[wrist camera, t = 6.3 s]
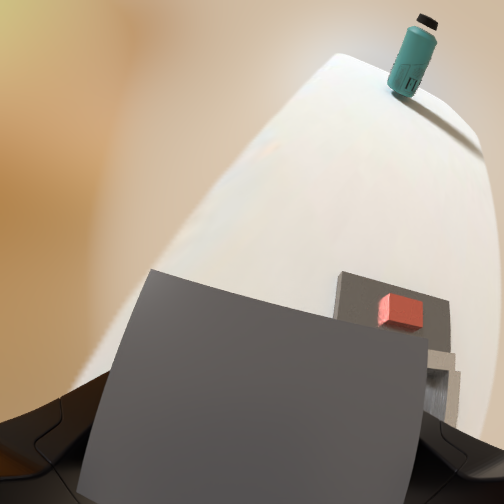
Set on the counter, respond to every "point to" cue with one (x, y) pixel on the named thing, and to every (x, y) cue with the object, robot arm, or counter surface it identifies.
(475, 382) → the counter surface
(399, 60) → the beverage bottle
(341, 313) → the grey socket base
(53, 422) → the robot arm
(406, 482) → the plug block
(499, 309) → the counter surface
